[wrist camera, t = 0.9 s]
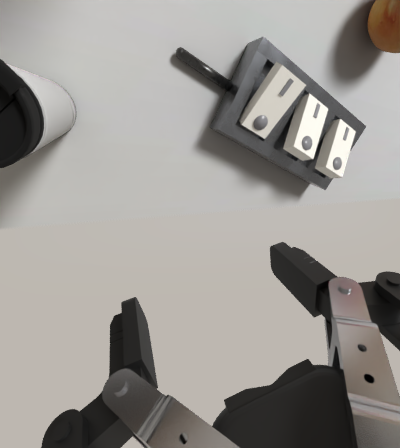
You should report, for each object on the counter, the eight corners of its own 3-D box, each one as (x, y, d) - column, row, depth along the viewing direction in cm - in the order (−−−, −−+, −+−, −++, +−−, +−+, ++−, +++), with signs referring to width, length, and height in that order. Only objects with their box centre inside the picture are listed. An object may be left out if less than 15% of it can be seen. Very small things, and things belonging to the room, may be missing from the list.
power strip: (194, -1, 29) (205, -15, 26) (346, 124, 44) (366, 126, 40) (157, 98, 32) (162, 97, 29) (310, 183, 47) (325, 189, 44)
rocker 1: (276, 61, 30) (282, 65, 28) (299, 80, 32) (306, 85, 30) (237, 119, 34) (241, 125, 33) (260, 133, 36) (265, 139, 35)
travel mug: (89, 111, 31) (61, 120, 14) (52, 145, 31) (-20, 196, 14) (45, 63, 27) (-65, -2, 10) (4, 102, 28) (-167, 101, 11)
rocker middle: (298, 98, 36) (310, 93, 34) (316, 112, 38) (329, 108, 36) (282, 148, 35) (294, 146, 34) (302, 160, 37) (314, 158, 36)
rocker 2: (328, 122, 39) (341, 118, 37) (343, 134, 41) (356, 131, 39) (314, 168, 39) (326, 166, 37) (330, 178, 41) (343, 177, 39)
